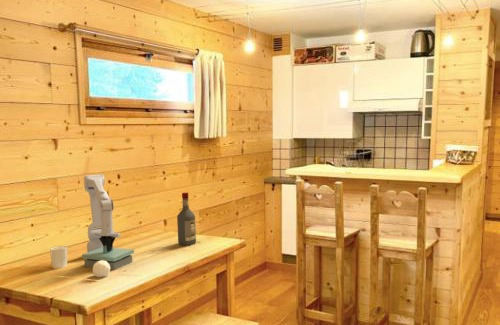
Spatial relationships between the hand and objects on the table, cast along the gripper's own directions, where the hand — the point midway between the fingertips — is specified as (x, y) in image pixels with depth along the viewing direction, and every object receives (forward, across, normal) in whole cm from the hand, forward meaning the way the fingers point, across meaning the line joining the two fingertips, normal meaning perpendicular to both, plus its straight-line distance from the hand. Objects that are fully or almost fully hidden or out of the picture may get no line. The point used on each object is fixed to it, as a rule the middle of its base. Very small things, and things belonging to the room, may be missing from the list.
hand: (108, 251), depth 229 cm
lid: (+2, 0, 0) cm, 2 cm away
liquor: (+8, +16, +50) cm, 53 cm away
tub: (+7, 0, 0) cm, 7 cm away
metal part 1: (+7, -4, -1) cm, 8 cm away
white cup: (+8, -22, -10) cm, 25 cm away
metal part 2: (+7, +4, +2) cm, 8 cm away
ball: (+8, +9, -16) cm, 20 cm away
